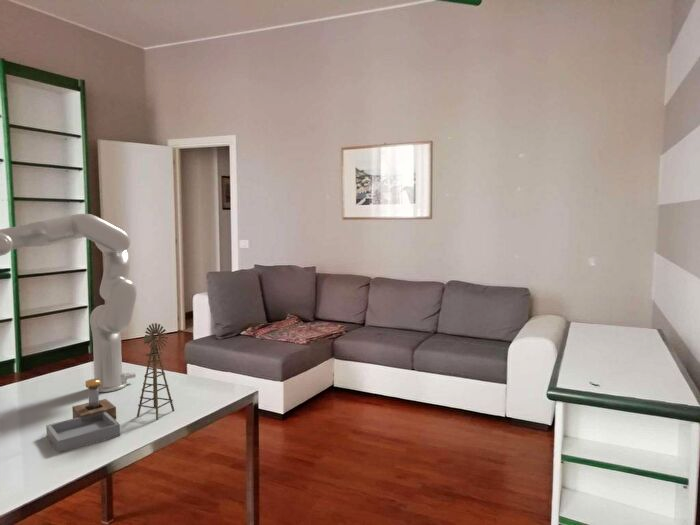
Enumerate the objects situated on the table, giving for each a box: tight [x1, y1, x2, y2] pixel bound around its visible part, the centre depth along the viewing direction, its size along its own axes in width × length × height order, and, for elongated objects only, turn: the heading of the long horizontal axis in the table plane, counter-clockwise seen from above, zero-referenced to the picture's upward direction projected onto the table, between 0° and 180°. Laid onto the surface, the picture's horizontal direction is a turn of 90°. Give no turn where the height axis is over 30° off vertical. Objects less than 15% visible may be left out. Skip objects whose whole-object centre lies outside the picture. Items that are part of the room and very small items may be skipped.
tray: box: [45, 412, 121, 453], centre depth 142 cm, size 16×14×3 cm
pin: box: [85, 378, 101, 410], centre depth 153 cm, size 4×4×12 cm
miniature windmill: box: [136, 322, 175, 421], centre depth 157 cm, size 9×8×30 cm
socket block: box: [71, 398, 117, 423], centre depth 154 cm, size 10×10×4 cm
